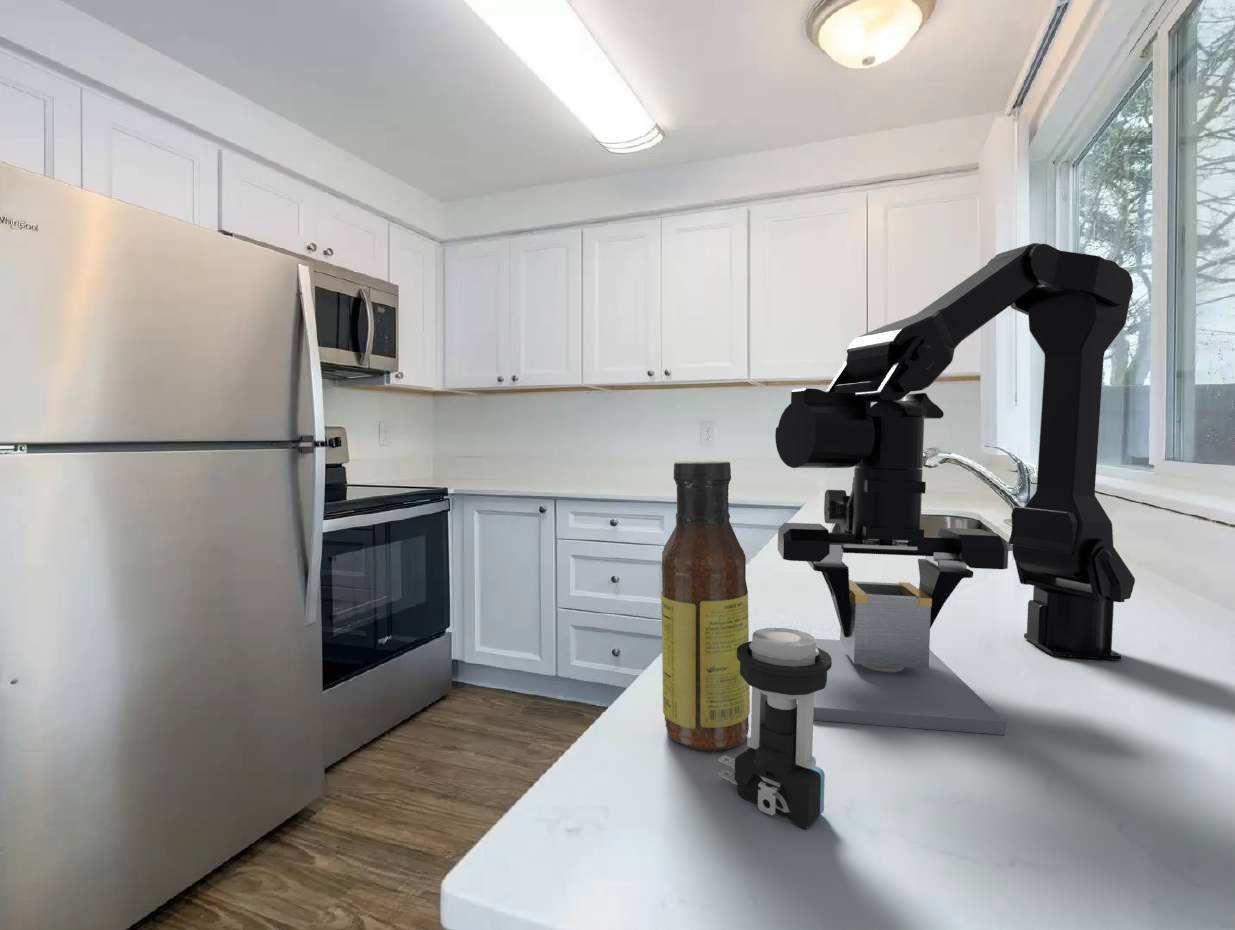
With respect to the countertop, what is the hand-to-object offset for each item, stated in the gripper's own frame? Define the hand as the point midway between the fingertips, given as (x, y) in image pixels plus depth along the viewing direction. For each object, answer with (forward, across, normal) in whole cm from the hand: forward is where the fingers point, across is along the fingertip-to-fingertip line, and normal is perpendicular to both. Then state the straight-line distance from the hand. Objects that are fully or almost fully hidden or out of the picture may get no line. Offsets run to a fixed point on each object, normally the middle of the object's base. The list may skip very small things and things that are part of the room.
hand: (882, 638), depth 59 cm
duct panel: (+4, +1, +2) cm, 4 cm away
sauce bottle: (+4, +16, +15) cm, 22 cm away
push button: (+4, +12, +23) cm, 26 cm away
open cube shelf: (+2, 0, 0) cm, 2 cm away
